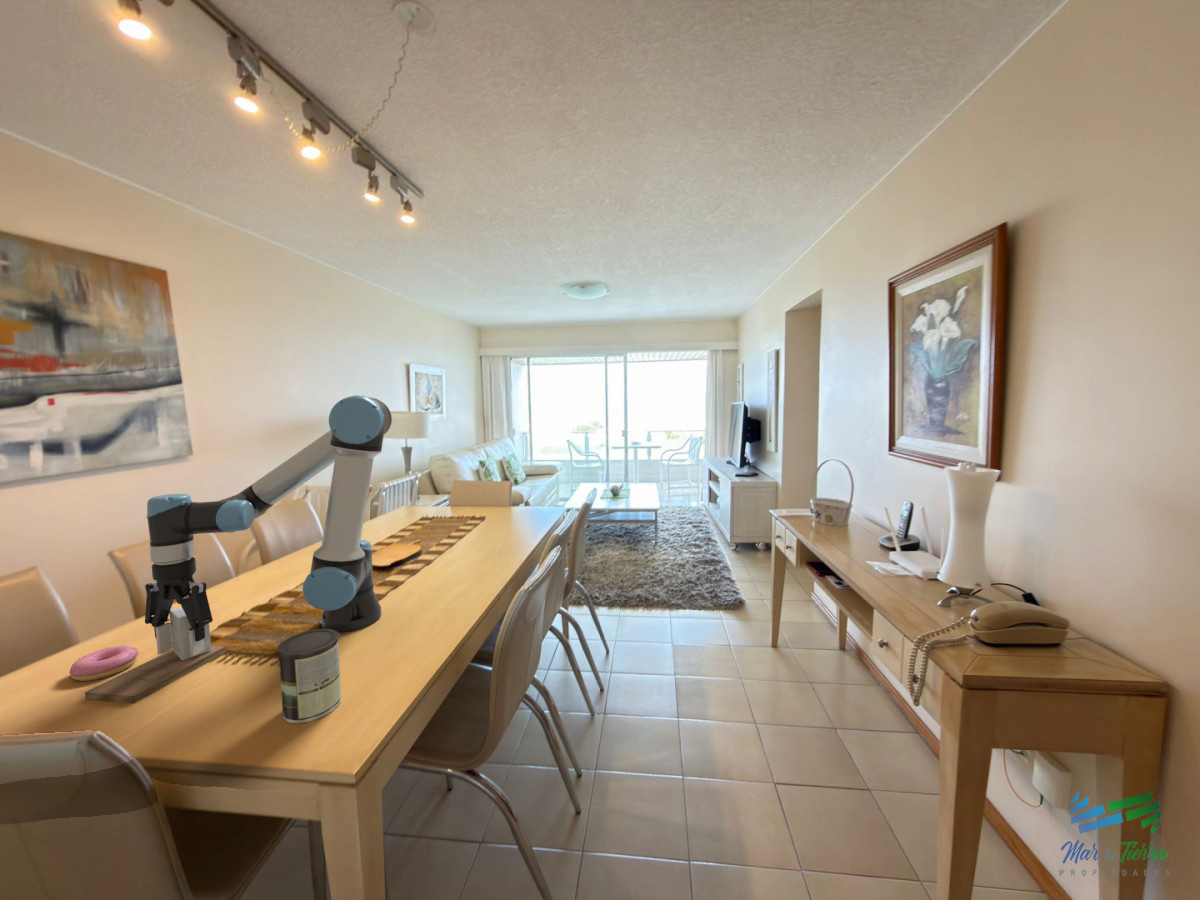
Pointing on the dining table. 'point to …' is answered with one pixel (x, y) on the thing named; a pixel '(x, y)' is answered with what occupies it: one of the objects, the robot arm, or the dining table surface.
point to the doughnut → (103, 663)
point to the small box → (184, 634)
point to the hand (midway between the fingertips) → (181, 652)
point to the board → (150, 676)
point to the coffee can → (310, 675)
